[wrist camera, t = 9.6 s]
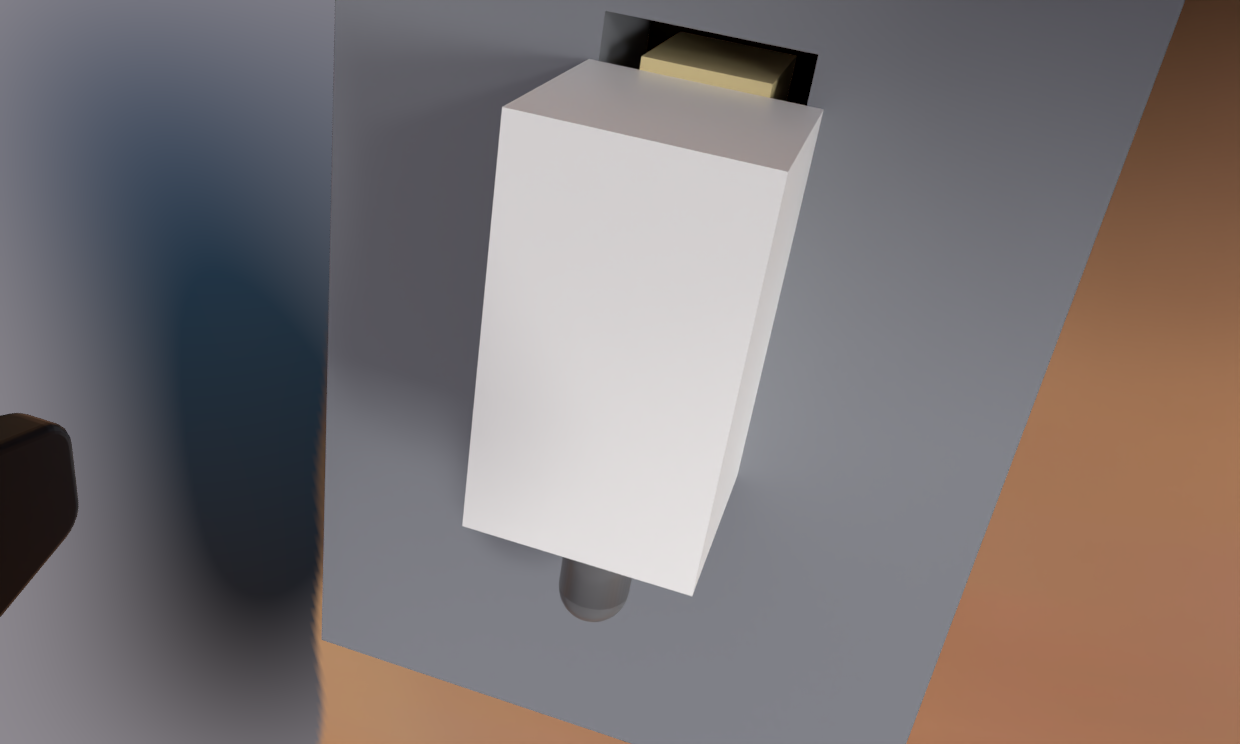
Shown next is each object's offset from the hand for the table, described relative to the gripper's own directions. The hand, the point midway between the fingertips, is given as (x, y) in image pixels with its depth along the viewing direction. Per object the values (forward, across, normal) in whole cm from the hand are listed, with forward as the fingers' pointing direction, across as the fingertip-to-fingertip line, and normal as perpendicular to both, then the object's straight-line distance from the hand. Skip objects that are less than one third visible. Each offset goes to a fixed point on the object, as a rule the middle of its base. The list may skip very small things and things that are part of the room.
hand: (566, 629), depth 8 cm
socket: (+13, +2, +1) cm, 13 cm away
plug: (+12, +2, +2) cm, 13 cm away
